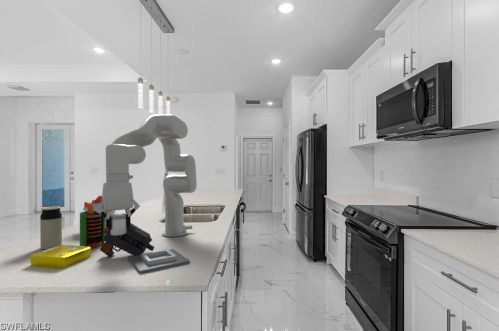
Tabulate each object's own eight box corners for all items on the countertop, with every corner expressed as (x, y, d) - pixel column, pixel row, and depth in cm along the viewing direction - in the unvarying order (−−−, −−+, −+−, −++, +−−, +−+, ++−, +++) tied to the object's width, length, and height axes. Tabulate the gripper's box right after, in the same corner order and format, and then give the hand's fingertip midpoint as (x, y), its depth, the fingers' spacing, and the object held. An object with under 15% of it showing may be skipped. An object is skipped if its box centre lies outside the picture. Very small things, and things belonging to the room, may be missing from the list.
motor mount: (173, 251, 122) (173, 245, 122) (189, 263, 107) (189, 256, 107) (128, 259, 112) (128, 253, 112) (140, 273, 97) (139, 266, 97)
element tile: (62, 254, 120) (62, 243, 120) (93, 257, 117) (93, 245, 117) (27, 267, 105) (27, 254, 105) (61, 270, 102) (61, 256, 102)
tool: (101, 247, 119) (119, 215, 119) (142, 268, 120) (160, 237, 121) (94, 251, 113) (114, 218, 113) (138, 274, 114) (157, 241, 115)
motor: (91, 250, 124) (91, 204, 124) (74, 249, 126) (73, 203, 126) (107, 243, 134) (107, 201, 134) (91, 243, 136) (90, 201, 136)
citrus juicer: (94, 227, 170) (94, 193, 170) (121, 228, 168) (121, 194, 168) (74, 233, 155) (74, 196, 155) (104, 234, 152) (104, 197, 152)
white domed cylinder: (124, 230, 108) (124, 212, 107) (127, 233, 103) (127, 214, 103) (109, 233, 105) (109, 213, 104) (111, 236, 100) (111, 216, 100)
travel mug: (65, 246, 131) (65, 206, 131) (47, 250, 124) (47, 209, 124) (55, 244, 134) (54, 205, 134) (36, 248, 127) (36, 208, 127)
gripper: (139, 177, 111) (140, 223, 112) (89, 179, 102) (90, 229, 102) (144, 178, 105) (145, 227, 106) (92, 180, 96) (93, 234, 96)
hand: (118, 227), depth 104 cm, fingers closed on white domed cylinder, 5 cm apart
